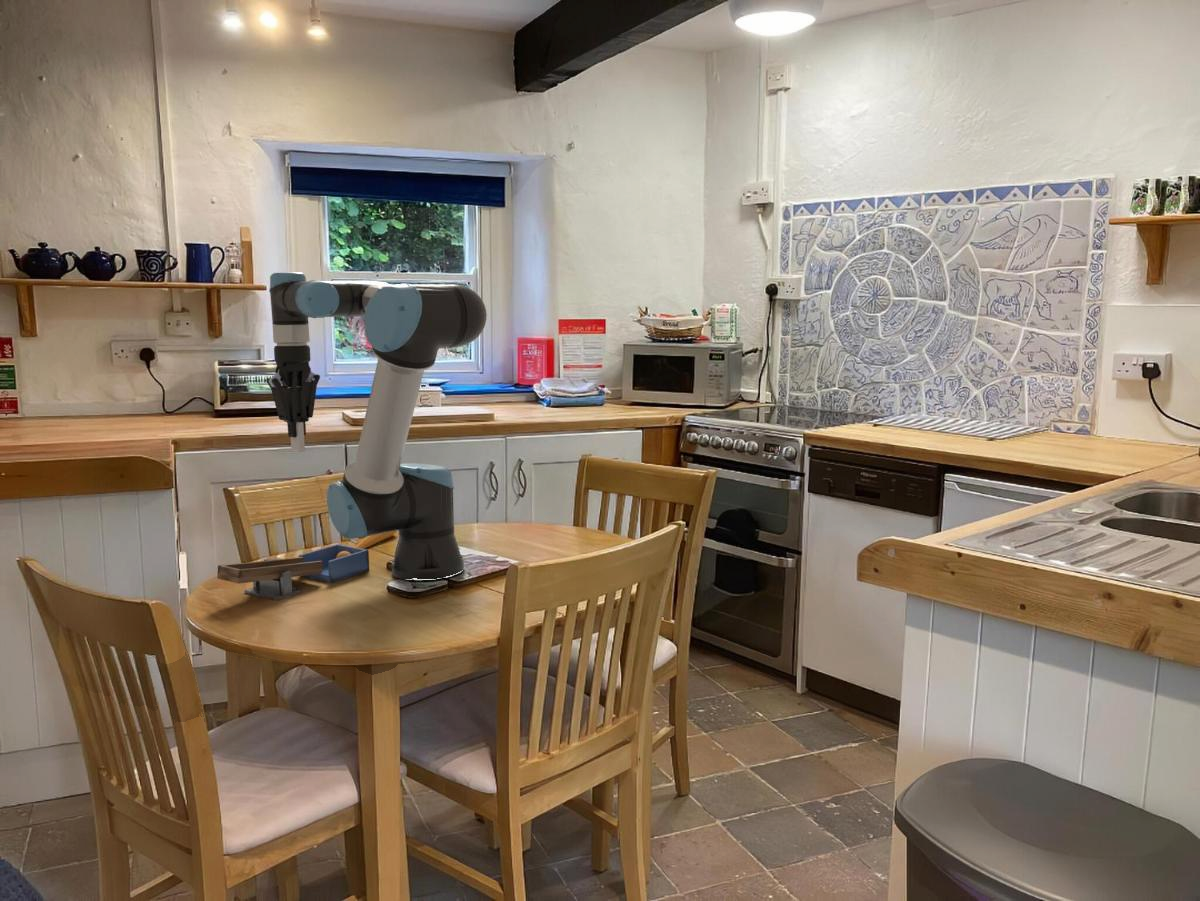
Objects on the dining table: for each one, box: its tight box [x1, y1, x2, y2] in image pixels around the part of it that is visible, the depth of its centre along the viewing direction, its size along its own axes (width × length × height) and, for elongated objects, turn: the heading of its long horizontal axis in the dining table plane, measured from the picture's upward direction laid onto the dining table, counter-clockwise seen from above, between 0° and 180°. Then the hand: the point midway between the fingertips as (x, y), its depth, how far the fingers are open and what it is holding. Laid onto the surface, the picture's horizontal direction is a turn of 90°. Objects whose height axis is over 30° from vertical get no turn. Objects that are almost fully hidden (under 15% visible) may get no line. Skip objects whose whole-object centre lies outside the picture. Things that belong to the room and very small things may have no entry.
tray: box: [298, 543, 370, 584], centre depth 201 cm, size 10×11×4 cm
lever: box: [216, 556, 323, 584], centre depth 189 cm, size 14×20×2 cm
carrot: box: [354, 530, 397, 549], centre depth 225 cm, size 20×4×4 cm, turn 163°
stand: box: [243, 571, 302, 602], centre depth 188 cm, size 10×6×5 cm, turn 57°
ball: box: [336, 551, 350, 559], centre depth 203 cm, size 4×4×4 cm
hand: (298, 451), depth 210 cm, fingers closed
